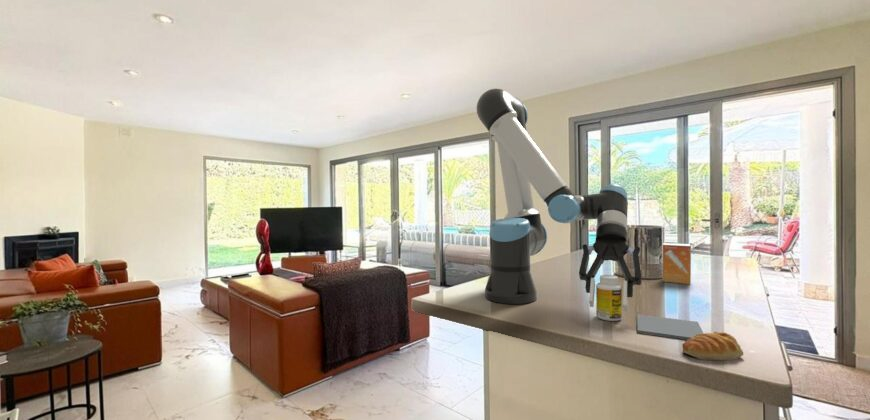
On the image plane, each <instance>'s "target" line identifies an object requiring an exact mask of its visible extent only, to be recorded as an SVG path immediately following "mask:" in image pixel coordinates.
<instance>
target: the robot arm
mask: <svg viewBox="0 0 870 420" xmlns="http://www.w3.org/2000/svg"><path fill="white" fill-rule="evenodd" d="M478 98H479V99H478V101H477V103H476V114H477V117H478V119H479V121H481V123H482V124H483V126H484V127H485V128H486V130H487V131H488V132H489V134H490V135H491V140H492V141H494V142H495V143H497V145H496V146H497V150H498V151H497V152H498V157H499V164H500V170H501V176H502V182H503V183H502V184H503V189H504V195H505V202H506V209H507V213H506V215H504V218H499V219H495V220H493V221H492V222H491V224H490V226H489V233H488V234H489V245H490V246H489V253H490V254H489V257H490V272H489V276H488V278H487V281H486V284H485V288H484V297H485V299H486V300H489V301H491V302H494V303H499V304H509V305H520V304H521V305H522V304H523V305H524V304H529V303H533V302H535V301H537V296H538V295H537V292H538V291H537V288H536V284H535V282H534V280H533V279H534V278H533V276H532V274H531V273H532V272H531V257H532V256H534V255H537V254H538V253H540V252H541V251H542V250H543V249H544V248H545V246H546V244H547V242H548V232H547V229H546V227H545V226H544V224H543V223H542V220H541V213H540V212H539V211H538V210H536V209H535V204H534V200H533V194H532V187H533V188H534V190H535V191H536V193H537V194H538V195H539V197H540V198H541V199H542V202H544V204H545V205H546V207H547V211H548V214H549V216H550V218H551V219H552V220H553V221H555V222H557V223H560V224H561V223H562V224H570V223H573V222H576V221H583V220H584V221H588V220H589V221H590V220H596V233H595V242H594V243H593V244H592V245H587V244H582V252H583V254H582V256H581V257H582V258H581V262H580V267H579V271H578V276H579V280H581V281H585V287H584V288H585V292H586V294H589V296H588V297H589V298H588V302H589V308H590V307H591V308H594V307H595V306H594V302H595V293H596V281H595V280H596V279H595V277H596V275H597V274H598V272H599V269H600V268H601V266H602V265H603V264H604V262H605V261H612V262H616V263H617V265H618V266H619V270H620V271H621V273H622V276H623V278H624V280H623V286H622V287H623V288H622V289H623V290H622V291H623V292H622V295H623V296H622V297H623V298H622V308H623V310H622V311H623V312H628V298H633V295H634V286H636V285H637V286H641V285H642V272H641V271H642V270H641V265H640V256H641V247H640V246H635V247H632V246H629V244H628V205H629V202H628V193H627V190H626V189H625V188H624V187H623V186H622V185H619V184H607V185H605V186H603V187H602V188H601V189H600V190H599V192H598V193H593V194H582V195H581V194H580V195H579V194H578V195H575V194H574V193H573V191H572V190H571V189H570V187H568V185H567V183H566V182H565V181H564V179H563V178H562V177H561V175H560V174H559V173H558V172H557V170H556V169H555V167H554V166H553V165H552V163H550V161H549V160H548V159H547V157H546V156H545V155H544V153H543V152H542V151H541V149H540V148H539V147H538V145H537V144H536V143H535V142H534V140H533V139H532V137H531V136H530V135H529V134H528V132H527V126H526V124H527V123H528V118H529V117H528V116H529V113H528V109H527V107H526V105H525V104H524V103H523V102H522V101H521V100H520V99H519V98H517V97H516V96H513V95H512V94H510V93H509V92H507V91H506V90H504V89H502V88H491V89H489V90H486V91H485V92H483V93H482V94H481V95H480V97H478ZM531 186H532V187H531ZM593 251H594V252H595V253H596V256H595V259H594V261H593V263H592V264H591V266H590V268H589V270H588V265H589V260H590V255H592V253H593ZM627 253H629V254H630V255H629V256H630V257H631V258H632V264H633V273H634V276H632V274H631V272H630V270H629V267H628V265H627V263H626V261H625V260H626V259H625V258H624V256H626V254H627ZM587 270H588V271H587Z"/></svg>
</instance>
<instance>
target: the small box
mask: <svg viewBox="0 0 870 420" xmlns="http://www.w3.org/2000/svg"><path fill="white" fill-rule="evenodd" d="M691 258H692V246H691V244H690V243H677V242H676V243H675V242H674V243H671V242H670V243H668V242H667V243H666V242H663V243H662V282H666V283H675V284H685V285H691V283H692V281H691V278H692V277H691V276H692V271H691V270H692V269H691V268H692V262H691V261H692V259H691Z"/></svg>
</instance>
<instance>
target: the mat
mask: <svg viewBox="0 0 870 420" xmlns="http://www.w3.org/2000/svg"><path fill="white" fill-rule="evenodd" d="M636 317H637V318H636V320H637V321H636V322H637V326H636V327H637V334H642V335H649V336H657V337H664V338H669V339H670V338H672V339H677V338H679V339H678V340H685V341H687V340H688V339H690V338H693V337H694V336H696V335H697V334H700V333H703V334H705V333H704V331H703V329H702V327H701V326H700V324H699V322H698V321H695V320H694V321H693V320H686V319H678V318H669V317H662V316H653V315H646V314H645V315H644V314H636Z"/></svg>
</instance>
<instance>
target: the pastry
mask: <svg viewBox="0 0 870 420" xmlns="http://www.w3.org/2000/svg"><path fill="white" fill-rule="evenodd" d="M703 333H704V332H703ZM703 333H700V334H697V335H696V336H694V337H693V338H690V339H688V340H685V341H684V342H683V343H682V345H681V346H682V347H681V348H682V353H684V354H687V355H689V356H692V357H694V358H697V359H700V360H701V361H702V360H707V361H709V360H710V361H718V362H719V361H720V362H722V361H730V360H731V361H732V360H737V359H740V358H742V357H743V356H744V351H743V349H742V348H741V345H740V344H739V343H738V342H737V339H736V338H735V337H734V336H733V335H731V334H729V333H728V332H718V331H714V332H713V333H711V332H706V333H704V334H703Z"/></svg>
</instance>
